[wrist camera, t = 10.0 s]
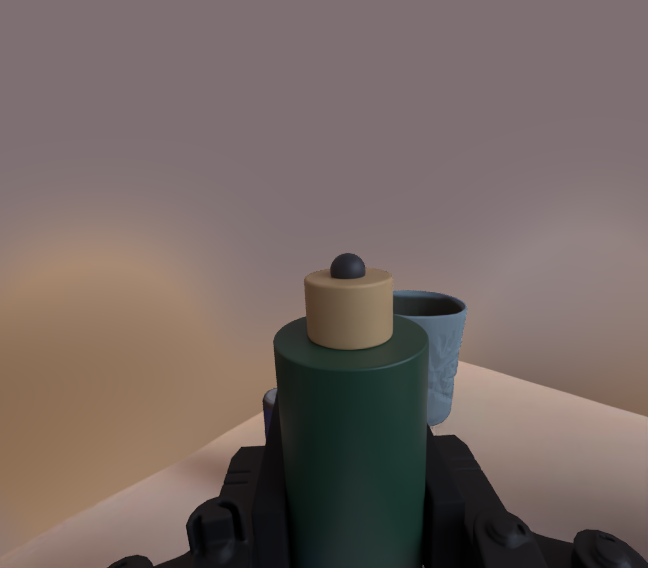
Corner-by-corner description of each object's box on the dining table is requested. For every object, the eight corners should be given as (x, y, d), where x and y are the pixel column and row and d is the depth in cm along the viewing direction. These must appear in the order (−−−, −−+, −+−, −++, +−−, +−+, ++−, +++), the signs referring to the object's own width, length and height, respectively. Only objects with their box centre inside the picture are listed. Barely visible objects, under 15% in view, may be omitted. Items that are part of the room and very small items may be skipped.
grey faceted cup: (348, 400, 40) (346, 301, 37) (405, 372, 46) (407, 284, 43) (421, 446, 32) (426, 325, 30) (478, 405, 38) (486, 301, 36)
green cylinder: (364, 616, 14) (355, 239, 10) (442, 722, 11) (467, 250, 7) (285, 692, 12) (239, 255, 8) (356, 847, 9) (332, 280, 5)
